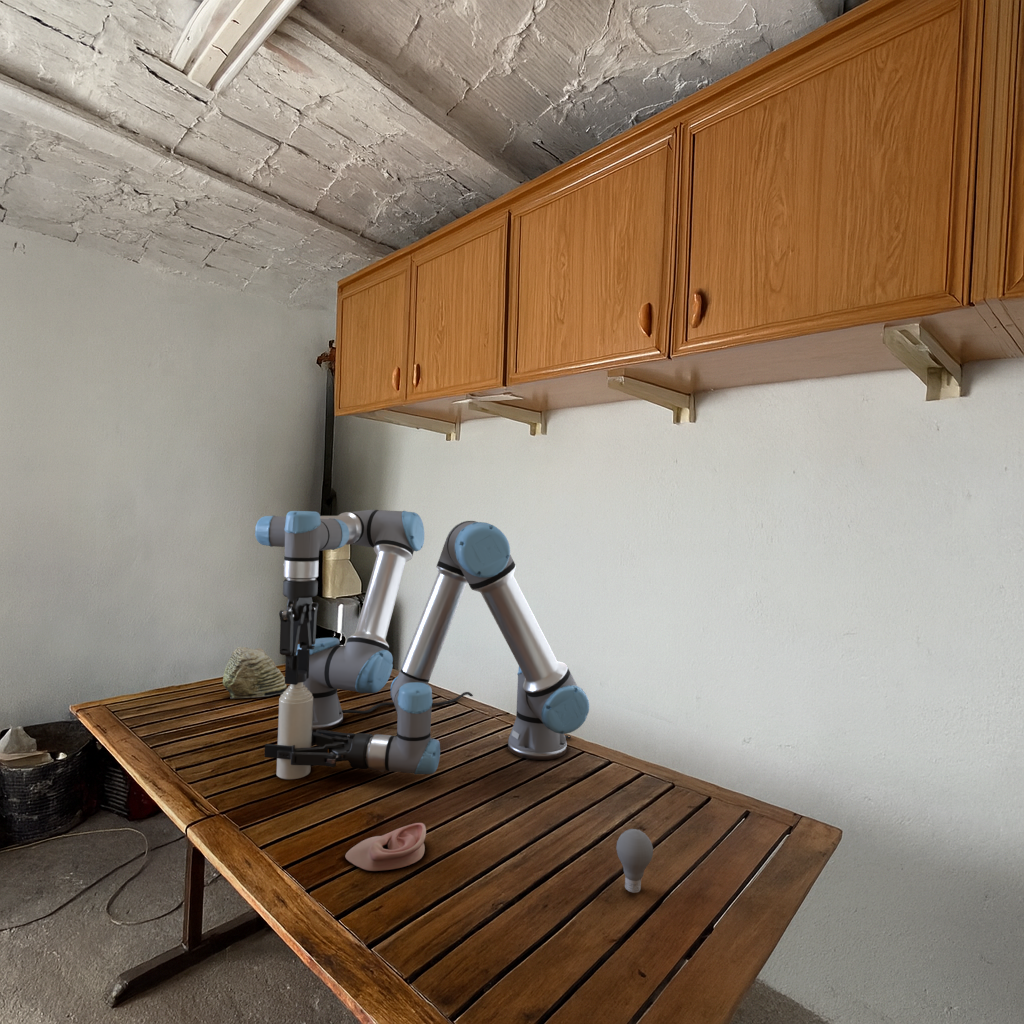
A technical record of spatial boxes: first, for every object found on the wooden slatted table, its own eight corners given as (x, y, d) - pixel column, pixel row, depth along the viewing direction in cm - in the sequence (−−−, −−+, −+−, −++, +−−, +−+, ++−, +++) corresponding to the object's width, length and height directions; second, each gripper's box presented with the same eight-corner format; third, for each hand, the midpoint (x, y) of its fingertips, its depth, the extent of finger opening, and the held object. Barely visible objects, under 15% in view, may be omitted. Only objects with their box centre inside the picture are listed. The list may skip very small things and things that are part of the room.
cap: (310, 680, 145) (310, 672, 145) (294, 684, 142) (294, 675, 142) (299, 676, 147) (300, 668, 147) (283, 680, 144) (284, 672, 144)
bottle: (274, 780, 140) (278, 679, 140) (278, 766, 148) (281, 670, 147) (309, 778, 142) (313, 678, 142) (311, 764, 149) (315, 669, 149)
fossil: (218, 695, 195) (220, 647, 195) (278, 685, 208) (279, 640, 207) (228, 703, 189) (230, 653, 188) (289, 692, 201) (290, 645, 201)
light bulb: (610, 879, 108) (613, 822, 108) (644, 879, 109) (647, 822, 109) (619, 902, 102) (622, 840, 102) (655, 901, 103) (658, 840, 103)
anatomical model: (337, 842, 109) (366, 811, 120) (336, 865, 109) (365, 832, 120) (410, 854, 106) (432, 821, 117) (409, 878, 106) (432, 842, 118)
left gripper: (304, 573, 153) (301, 669, 154) (264, 582, 136) (260, 690, 137) (333, 575, 152) (329, 672, 152) (296, 584, 135) (292, 693, 135)
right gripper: (354, 788, 133) (250, 779, 135) (383, 750, 153) (293, 743, 155) (356, 753, 133) (252, 744, 135) (384, 719, 153) (294, 712, 155)
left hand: (296, 680), depth 145 cm, fingers open, 4 cm apart
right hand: (274, 743), depth 145 cm, fingers closed on bottle, 7 cm apart
